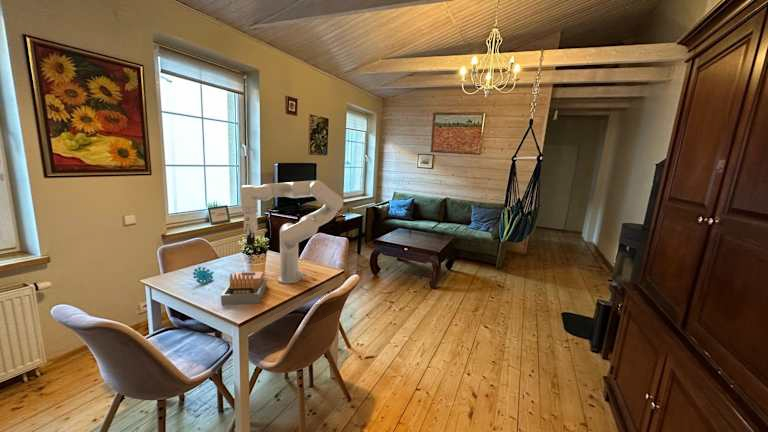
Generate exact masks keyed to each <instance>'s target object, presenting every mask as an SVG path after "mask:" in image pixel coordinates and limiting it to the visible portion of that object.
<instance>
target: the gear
mask: <svg viewBox="0 0 768 432" xmlns="http://www.w3.org/2000/svg"><path fill="white" fill-rule="evenodd" d="M201 269H202V270H201ZM210 271H211V270H210V269H208V268H207V269H206V267H205V266H203V267H200V266H198V268H195V269H194V271H193V272H192V275H193V279H196V280H195V281H196V282H197V283H199V282H200V284H201V285H203V284H204V283H205V284H209V283H211V282H212V281H213V280H212V279H214V276H213V274H214V273H215V271H211V272H210Z"/></svg>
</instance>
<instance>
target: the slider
mask: <svg viewBox="0 0 768 432" xmlns="http://www.w3.org/2000/svg"><path fill="white" fill-rule="evenodd" d="M239 273H240V276H241V282H242V275H243V273H244V275H245V282H246V275H247V273H248V275H249V281H250V276H251V273H252V274H253V281H254V290H259V288H260V285H261V283H262V281H263V279H264V271H255V270H254V271H253V270H252V271H241V272H239V271H237V272H235V273H234V274H236V276H237V282H238V275H239ZM234 274H232V277H233V284H234Z"/></svg>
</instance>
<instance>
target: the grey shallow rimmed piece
mask: <svg viewBox="0 0 768 432" xmlns="http://www.w3.org/2000/svg"><path fill="white" fill-rule="evenodd" d="M266 287H267V277H266V276H265V277H264V276H263V281H262V283H261V285H260V288H259V290H254V291H255V293H246V294H229V289H230V282H229V284H228V285H227V286H226V287H225V289H224V290H223V292H222V293H221V295H220V302H221V303H220V305H221V306H224V305H245V304H260V302H261V299H262V297H263V294H264V292H265V290H266Z"/></svg>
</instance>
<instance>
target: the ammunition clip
mask: <svg viewBox="0 0 768 432" xmlns="http://www.w3.org/2000/svg"><path fill="white" fill-rule="evenodd" d="M233 275H234V284H233ZM229 283H230V289H229V294H246V293H255V291H254V281H253V274H252V273H251V276H250V281H249V275H248V273H247V275H246V282H245V275H244V273H243V275H242V282H241V276H240V273H239V275H238V282H237V276H236V274H235V273H234V274H232V273H230V275H229Z"/></svg>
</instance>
